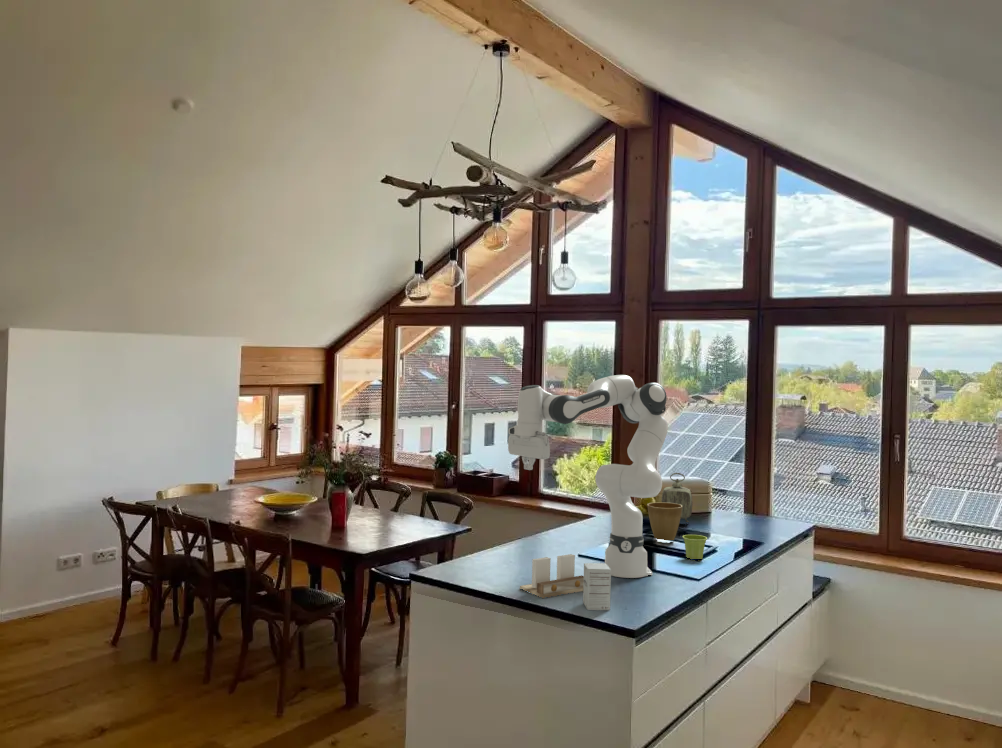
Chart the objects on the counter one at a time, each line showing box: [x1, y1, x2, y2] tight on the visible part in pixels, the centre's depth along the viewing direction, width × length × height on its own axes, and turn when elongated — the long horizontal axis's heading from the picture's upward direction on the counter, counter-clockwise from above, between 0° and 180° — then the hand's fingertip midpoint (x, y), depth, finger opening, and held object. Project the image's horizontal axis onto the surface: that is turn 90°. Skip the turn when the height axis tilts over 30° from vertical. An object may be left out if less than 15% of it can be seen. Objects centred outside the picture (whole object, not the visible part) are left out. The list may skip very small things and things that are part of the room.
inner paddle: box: [556, 553, 576, 580], centre depth 264 cm, size 2×6×9 cm, turn 126°
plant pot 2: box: [682, 534, 708, 560], centre depth 311 cm, size 9×9×9 cm
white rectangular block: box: [531, 556, 552, 588], centre depth 259 cm, size 2×6×9 cm, turn 126°
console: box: [519, 575, 584, 599], centre depth 261 cm, size 12×19×4 cm, turn 126°
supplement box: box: [582, 562, 612, 611], centre depth 243 cm, size 7×7×13 cm
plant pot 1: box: [646, 501, 682, 540], centre depth 343 cm, size 15×15×16 cm
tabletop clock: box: [661, 472, 693, 523], centre depth 384 cm, size 14×9×25 cm, turn 79°
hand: (528, 469), depth 282 cm, fingers closed
